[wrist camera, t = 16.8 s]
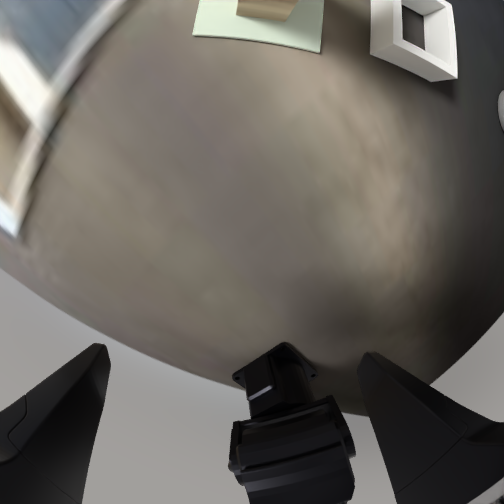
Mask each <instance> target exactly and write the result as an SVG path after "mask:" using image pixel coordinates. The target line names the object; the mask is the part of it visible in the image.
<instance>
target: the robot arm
mask: <svg viewBox="0 0 504 504" xmlns="http://www.w3.org/2000/svg"><path fill="white" fill-rule="evenodd" d="M281 348H283V349H281ZM110 368H111V363H110V358H109V354H108V350H107V347H106V345H104V344H99V343H94V344H92V345H91V346H89V347H88V348H87V349H85V350H84V351H82V352H81V353H80V354H79V355H77V356H76V357H74V358H73V359H72V360H70V361H69V362H68V363H66V364H65V365H63V366H62V367H61V368H59V369H58V370H57V371H55V372H54V373H53V374H51V375H50V376H49V377H47V378H46V379H45V380H43V381H42V382H41V383H39V384H38V385H37V386H36V387H34V388H33V389H32V390H30V391H29V392H27V393H26V395H24V396H22V397H21V398H20V399H18V400H17V401H15V402H14V403H13V404H11V405H10V406H9V407H7V408H6V409H4V410H2V411H1V412H0V504H82V499H83V494H84V488H85V482H86V477H87V472H88V467H89V463H90V458H91V454H92V450H93V445H94V441H95V437H96V433H97V429H98V426H99V422H100V418H101V415H102V411H103V407H104V402H105V396H106V390H107V385H108V379H109V374H110ZM312 374H313V375H312ZM357 374H358V378H359V382H360V386H361V390H362V394H363V398H364V403H365V406H366V409H367V412H368V415H369V418H370V421H371V424H372V426H373V429H374V432H375V435H376V438H377V441H378V444H379V447H380V450H381V453H382V456H383V459H384V462H385V465H386V468H387V472H388V475H389V478H390V481H391V484H392V488H393V491H394V494H395V498H396V502H397V504H504V422H495V421H492V420H490V419H488V418H486V417H484V416H482V415H480V414H478V413H476V412H474V411H472V410H470V409H467V408H466V407H464V406H462V405H460V404H458V403H457V402H455V401H453V400H452V399H450V398H448V397H447V396H444V394H442V393H440V392H439V391H437V390H436V389H434V388H432V387H431V386H429V385H428V384H426V383H424V382H423V381H421V380H420V379H418V378H417V377H415V376H413V375H412V374H410V373H409V372H407V371H405V370H404V369H402V368H401V367H399V366H398V365H396V364H394V363H393V362H391V361H390V360H388V359H387V358H385V357H384V356H382V355H380V354H379V353H377V352H375V351H373V352H366V353H365V354H364V355H363V358H362V360H361V362H360V364H359V366H358V370H357ZM317 376H318V373H317V371H316V370H315V369H314V368H313V367H312V366H311V365H310V364H308V363H307V362H306V361H305V360H304V359H303V358H302V357H301V356H300V355H298V354H297V353H296V352H295V351H294V350H293V349H292V348H291V347H290V346H289V345H288V344H286V343H280V344H279V345H277V346H276V347H274V348H273V349H271V350H270V351H268V352H267V353H265V354H263V355H262V356H260V357H259V358H257V359H256V360H254V361H253V362H251V363H249V364H248V365H246V366H245V367H243V368H241V369H240V370H238V371H237V372H235V373H233V375H232V379H233V380H234V381H235V382H236V383H238V384H239V385H241V386H242V387H244V388H245V389H246V396H247V400H248V401H249V409H250V416H251V419H249V420H244V421H235V422H233V429H232V431H231V442H230V454H229V463H228V468H229V470H230V471H232V472H233V473H234V475H235V477H236V479H237V481H238V483H239V484H240V485H242V486H245V488H246V491H247V494H248V498H249V502H250V504H347V501H349V500H351V499H352V496H353V492H354V489H355V485H354V482H355V478H354V475H353V471H352V468H351V464H350V461H349V459H350V458H352V457H355V456H356V451H355V446H354V442H353V439H352V436H351V433H350V430H349V427H348V425H347V423H346V421H345V419H344V417H343V415H342V413H341V411H340V409H339V407H338V405H337V403H336V401H335V399H334V398H333V396H332V395H329V396H326V398H323V399H320V400H317V401H315V398H314V396H313V393H312V390H311V387H310V384H309V382H310V381H311V380H313V379H314V378H316V377H317Z"/></svg>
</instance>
